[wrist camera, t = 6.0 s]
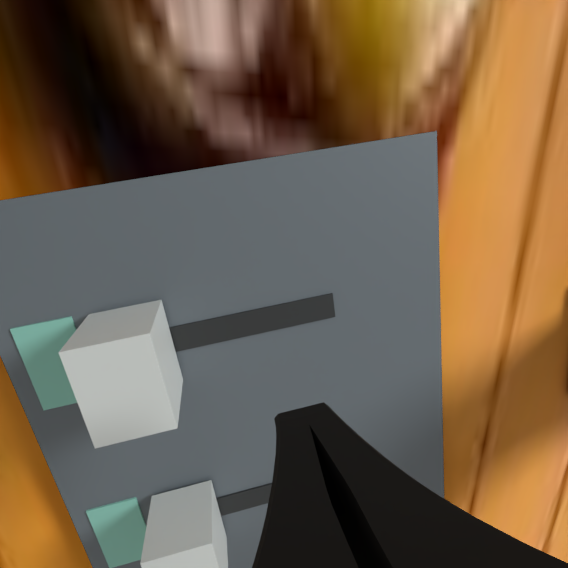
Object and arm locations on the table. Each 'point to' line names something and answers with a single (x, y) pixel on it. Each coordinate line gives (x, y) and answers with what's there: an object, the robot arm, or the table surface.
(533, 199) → the table surface
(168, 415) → the block
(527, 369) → the table surface
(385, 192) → the switch board
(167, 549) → the rear tab
